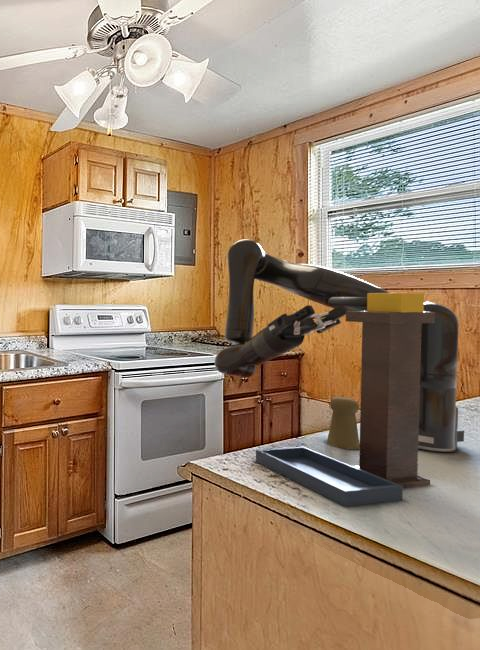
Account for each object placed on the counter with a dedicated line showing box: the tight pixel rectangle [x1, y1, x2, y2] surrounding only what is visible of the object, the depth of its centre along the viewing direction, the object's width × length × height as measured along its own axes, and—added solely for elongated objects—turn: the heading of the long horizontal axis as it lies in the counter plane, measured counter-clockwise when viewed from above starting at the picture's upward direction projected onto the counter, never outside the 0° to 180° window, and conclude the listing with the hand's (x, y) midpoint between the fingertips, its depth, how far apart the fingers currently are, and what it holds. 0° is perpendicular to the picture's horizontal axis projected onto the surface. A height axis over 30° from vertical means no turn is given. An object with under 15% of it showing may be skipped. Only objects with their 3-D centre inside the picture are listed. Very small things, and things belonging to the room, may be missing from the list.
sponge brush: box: [328, 292, 425, 313], centre depth 84 cm, size 5×16×4 cm, turn 10°
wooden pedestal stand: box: [345, 311, 435, 489], centre depth 81 cm, size 10×8×32 cm
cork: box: [326, 396, 360, 450], centre depth 100 cm, size 6×6×11 cm
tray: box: [255, 445, 404, 507], centre depth 81 cm, size 12×20×2 cm, turn 10°
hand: (329, 308), depth 92 cm, fingers open, 8 cm apart
